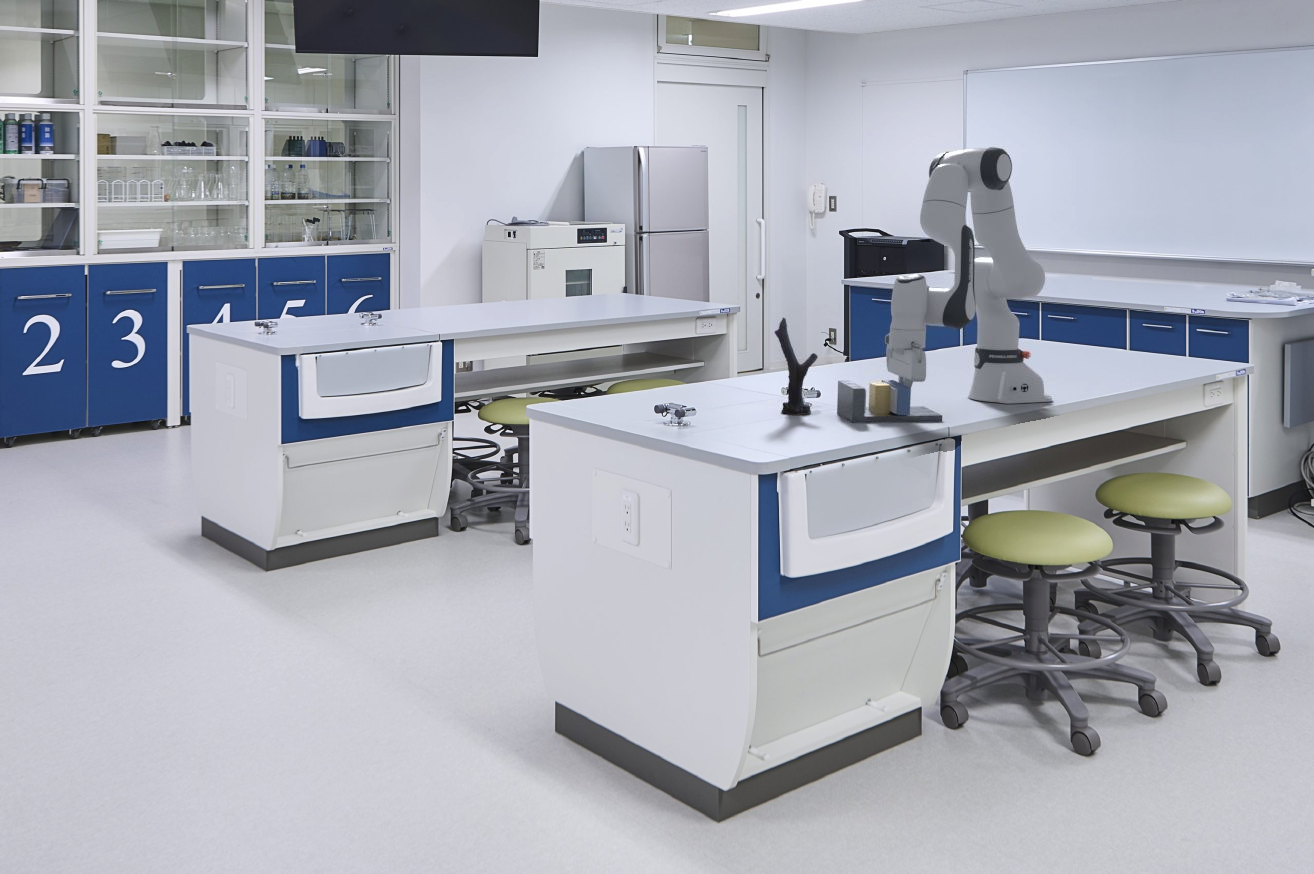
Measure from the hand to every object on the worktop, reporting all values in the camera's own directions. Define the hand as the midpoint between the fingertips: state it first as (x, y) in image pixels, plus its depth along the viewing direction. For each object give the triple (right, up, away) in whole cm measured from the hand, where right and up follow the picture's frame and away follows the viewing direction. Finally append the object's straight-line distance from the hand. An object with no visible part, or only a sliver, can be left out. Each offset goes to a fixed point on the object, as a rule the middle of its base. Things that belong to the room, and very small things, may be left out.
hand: (904, 394), depth 303 cm
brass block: (-6, -4, 0) cm, 8 cm away
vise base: (-4, -6, +1) cm, 7 cm away
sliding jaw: (-3, -4, +1) cm, 5 cm away
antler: (-28, -5, +5) cm, 29 cm away
